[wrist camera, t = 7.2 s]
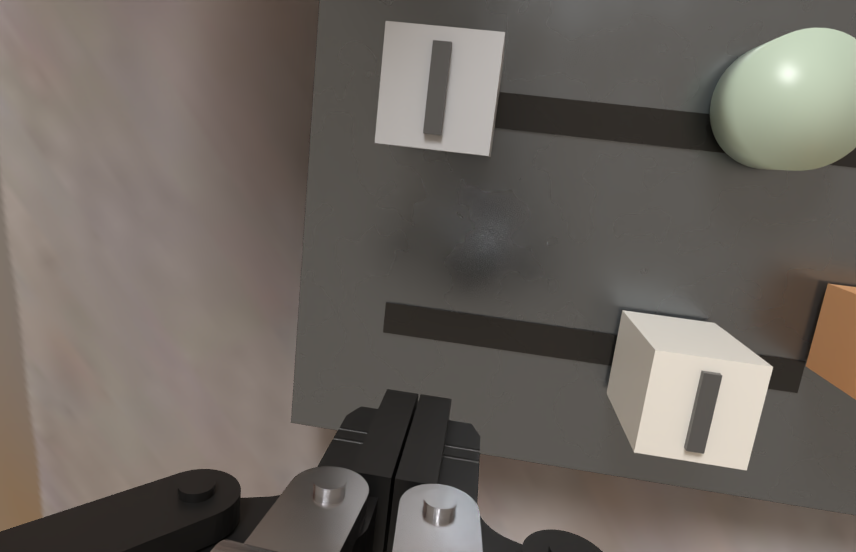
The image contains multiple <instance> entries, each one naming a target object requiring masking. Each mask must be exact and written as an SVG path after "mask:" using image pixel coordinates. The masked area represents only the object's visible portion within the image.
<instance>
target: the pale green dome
mask: <svg viewBox="0 0 856 552" xmlns="http://www.w3.org/2000/svg"><path fill="white" fill-rule="evenodd" d="M710 122H711V127H712V131H713V134H714V136H715V139H716V141H717V142H718V144H719V146H720V147H721V148H722V149H723V151H724V152H725V153H726V154H727V155H728V156H730V157H731V158H732V159H734V160H735V161H737V162H739V163H741V164H743V165H745V166H748V167H751V168H756V169H765V170H791V171H804V170H812V169H817V168H821V167H824V166H827V165H829V164H831V163H834V162H836V161H838V160H839V159H841V158H843V157H844V156H846V155H847V154H848V153H850V152H851V151H852V150H854V149H855V148H856V39H855V38H854V37H852V36H851V35H848V34H846V33H844V32H841V31H838V30H835V29H829V28H807V29H802V30H797V31H794V32H791V33H788V34H786V35H783V36H781V37H779V38H776V39H774V40H772V41H770V42H767V43H765V44H763V45H760V46H758V47H756V48H754V49H752V50H750V51H748V52H746V53H745V54H743V55H742V56H740V57H739V58H738V59H736V60H735V61H734V62H733V63H732V64H731V65H730V66H729V67H728V68H727V69H726V71H725V72H724V73H723V75H722V76H721V78H720V79H719V81H718V83H717V85H716V87H715V90H714V92H713V95H712V99H711V105H710Z"/></svg>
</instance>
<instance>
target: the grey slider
mask: <svg viewBox="0 0 856 552" xmlns="http://www.w3.org/2000/svg"><path fill="white" fill-rule="evenodd" d="M504 44H505V32H499V31H488V30H477V29H467V28H456V27H446V26H435V25H425V24H414V23H404V22H393V21H386V22H385V33H384V44H383V55H382V66H381V77H380V89H379V100H378V111H377V122H376V133H375V143H379V144H387V145H394V146H402V147H410V148H419V149H428V150H436V151H445V152H454V153H462V154H471V155H480V156H488V157H491V151H492V143H493V136H494V128H495V121H496V113H497V106H498V98H499V91H500V83H501V76H502V68H503V61H504Z"/></svg>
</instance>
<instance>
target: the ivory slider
mask: <svg viewBox="0 0 856 552" xmlns="http://www.w3.org/2000/svg"><path fill="white" fill-rule="evenodd" d="M772 370H773V366H771V365H770V364H769V363H767V362H766V361H765V360H763V359H762V358H761V357H759V356H758V355H757V354H755V353H754V352H753V351H751V350H750V349H749V348H747V347H746V346H745V345H743V344H742V343H741V342H739V341H738V340H737V339H735V338H734V337H733V336H732V335H730V334H729V333H728V332H726V331H725V330H724V329H722V328H721V327H720V326H718V325H717V324H716V323H712V322H704V321H697V320H690V319H683V318H675V317H668V316H661V315H654V314H646V313H639V312H632V311H624V310H622V315H621V320H620V325H619V331H618V336H617V341H616V346H615V351H614V357H613V362H612V367H611V372H610V377H609V383H608V388H607V395H608V398H609V400H610V402H611V404H612V406H613V408H614V410H615V413H616V415H617V417H618V419H619V421H620V423H621V426H622V428H623V430H624V432H625V434H626V436H627V438H628V441H629V443H630V445H631V447H632V449H633V451H634V453H641V454H647V455H653V456H659V457H666V458H672V459H678V460H684V461H691V462H697V463H703V464H709V465H716V466H722V467H728V468H734V469H741V470H747V467H748V464H749V460H750V456H751V452H752V448H753V444H754V440H755V436H756V432H757V428H758V424H759V420H760V417H761V413H762V409H763V405H764V401H765V397H766V393H767V389H768V385H769V381H770V377H771V374H772Z"/></svg>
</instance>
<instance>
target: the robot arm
mask: <svg viewBox="0 0 856 552" xmlns="http://www.w3.org/2000/svg"><path fill="white" fill-rule="evenodd" d="M451 401H452V399H449V398H442V397H436V396H429V395H423V394H421V395H420V398H419V401H418V394H416V393H410V392H403V391H397V390H390V389H387V391H386V393H385V395H384V397H383V399H382V402H381V404H380V406H379V408H378V409H375V408H369V407H362V406H361V407H359V408H357V409H356V410H354V411H353V412H351V413H349V414H348V415H346V417H345V419H344V420H343V422H342V424H341V426H340V429H338V431H337V433H336V435H335V436H334V440H332V442H331V444H330V445H329V447H328V449H327V451H326V453H325V454H324V456H323V458H322V460H321V461H320V463H319V465H318V467H316V468H312V469H308V470H306V471H303V472H301V473H300V474H298V475H297V476H295V477H294V479H293V480H292V481H291V482H290V483H289V485H288V486H287V487H286V489H285V490H284V491H283V493H282V494H281V495H278V496H271V497H254V498H240V494H241V488H240V484H239V482H238V481H237V480H236V478H234V477H233V476H232V475H230V474H228V473H225V472H222V471H218V470H211V469H198V470H190V471H185V472H182V473H178V474H175V475H172V476H169V477H166V478H163V479H160V480H157V481H154V482H151V483H148V484H145V485H142V486H138V487H135V488H132V489H129V490H126V491H123V492H120V493H117V494H114V495H111V496H108V497H105V498H102V499H99V500H96V501H93V502H90V503H86V504H83V505H80V506H77V507H74V508H71V509H68V510H65V511H62V512H59V513H56V514H53V515H50V516H47V517H44V518H41V519H38V520H35V521H31V522H28V523H25V524H22V525H19V526H16V527H13V528H10V529H7V530H4V531H1V532H0V552H602V551H601V550H600V549H599V548H598V547H596V546H595V545H594V544H592V543H591V542H589V541H588V540H586V539H584V538H582V537H580V536H578V535H575V534H573V533H570V532H566V531H561V530H541V531H537V532H535V533H533V534H531V535H529V536H528V537H527V538H526V539H525V540H524V542H523V545H522V544H519V543H517V542H515V541H512V540H510V539H508V538H506V537H503V536H502V535H500V534H498V533H497V532H495V531H494V530H492V529H491V528H490V527H489V526H488V525H487V524H486V523H485V522H484V521H483V520H482V518H481V516H480V512H479V508H478V506H477V496H478V476H479V456H480V435H479V434H478V432H477V431H476V429H475V428H474V426H473V425H472V424H470V423H464V422H458V421H451V420H449V417H450V409H451Z"/></svg>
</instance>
